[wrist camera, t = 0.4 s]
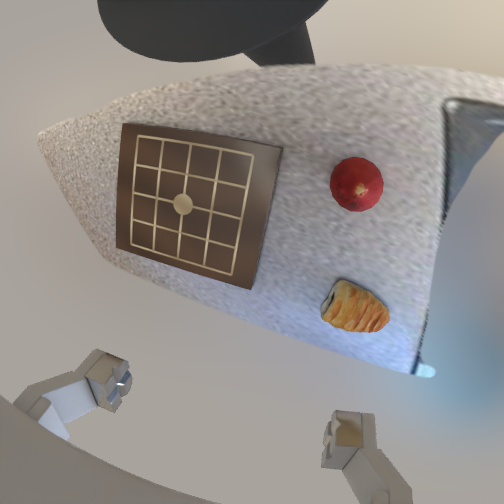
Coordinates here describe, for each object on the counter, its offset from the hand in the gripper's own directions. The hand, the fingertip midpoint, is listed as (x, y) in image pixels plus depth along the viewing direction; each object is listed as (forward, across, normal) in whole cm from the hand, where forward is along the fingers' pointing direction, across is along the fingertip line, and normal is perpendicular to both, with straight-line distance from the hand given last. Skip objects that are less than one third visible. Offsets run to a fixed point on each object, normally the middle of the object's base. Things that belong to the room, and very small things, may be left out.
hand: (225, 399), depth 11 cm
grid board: (+30, +14, +2) cm, 33 cm away
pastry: (+29, -10, +12) cm, 34 cm away
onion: (+30, -7, -4) cm, 31 cm away
